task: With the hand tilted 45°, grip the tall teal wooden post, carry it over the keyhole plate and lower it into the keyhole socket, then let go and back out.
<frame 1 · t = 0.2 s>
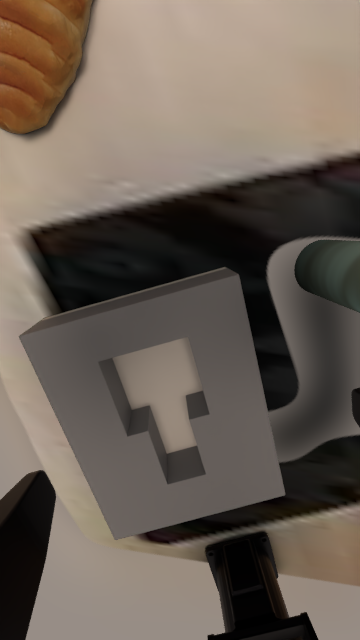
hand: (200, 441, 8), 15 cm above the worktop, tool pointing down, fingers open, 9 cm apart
pastry: (37, 42, 17), on the worktop
keyhole plate: (167, 394, 24), on the worktop
teal post: (320, 267, 22), on the worktop
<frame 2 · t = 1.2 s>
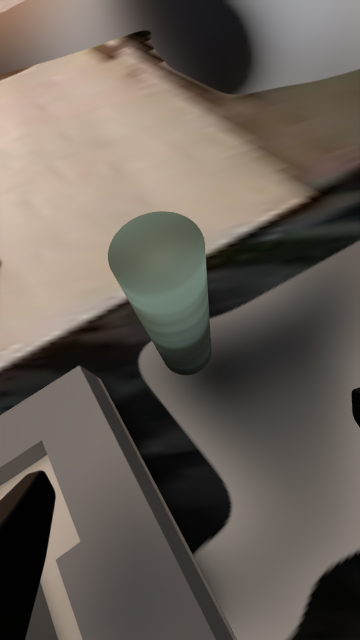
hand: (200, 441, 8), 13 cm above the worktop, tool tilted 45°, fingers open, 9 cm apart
keyhole plate: (65, 554, 19), on the worktop
teal post: (186, 350, 24), on the worktop
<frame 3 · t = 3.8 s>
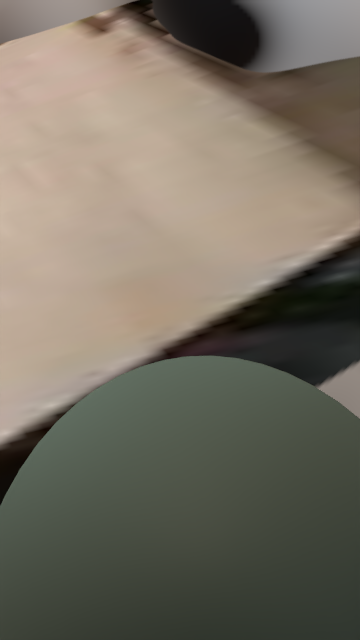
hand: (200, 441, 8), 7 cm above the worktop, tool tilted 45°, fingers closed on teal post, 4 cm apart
teal post: (215, 478, 14), on the worktop, touching gripper
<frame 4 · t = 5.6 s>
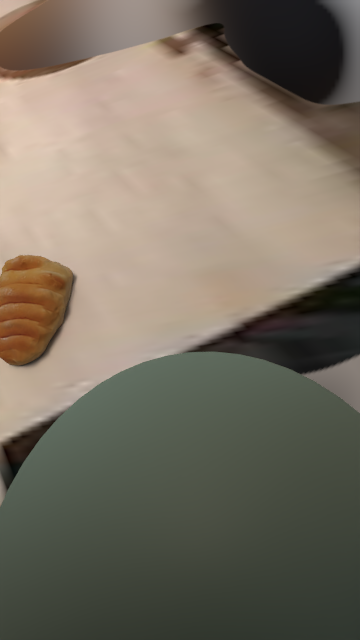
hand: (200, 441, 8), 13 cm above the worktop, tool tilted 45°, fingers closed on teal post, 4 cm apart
pastry: (41, 311, 27), on the worktop
teal post: (215, 477, 14), point 6 cm above the worktop, touching gripper
when the fingers open (9 cm above the worktop, at t = 7.7 s): teal post stays where it is, resting on keyhole plate.
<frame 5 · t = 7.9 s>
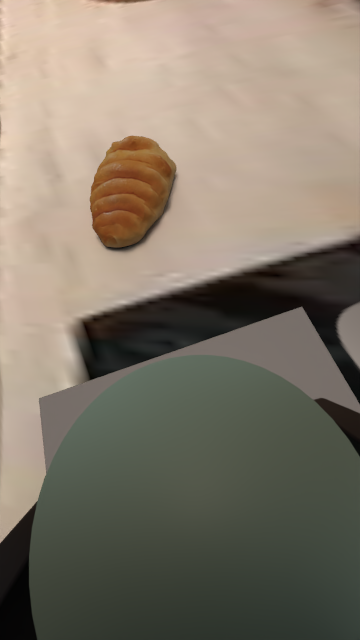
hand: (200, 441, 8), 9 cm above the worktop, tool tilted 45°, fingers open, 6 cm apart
pastry: (137, 205, 25), on the worktop
keyhole plate: (237, 541, 14), on the worktop
teal post: (215, 477, 15), point 1 cm above the worktop, touching keyhole plate
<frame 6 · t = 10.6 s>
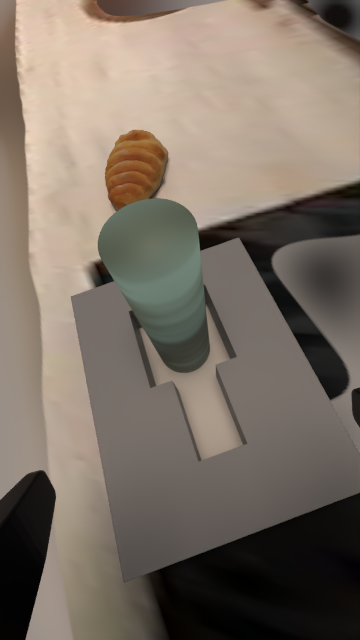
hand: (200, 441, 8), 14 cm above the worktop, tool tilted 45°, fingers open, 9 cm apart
pastry: (140, 182, 34), on the worktop
keyhole plate: (198, 385, 22), on the worktop
teal post: (184, 348, 23), point 1 cm above the worktop, touching keyhole plate
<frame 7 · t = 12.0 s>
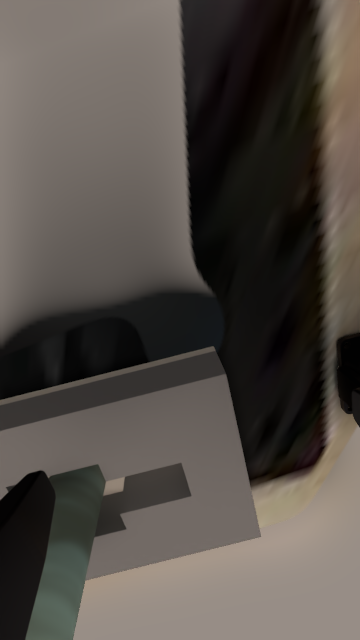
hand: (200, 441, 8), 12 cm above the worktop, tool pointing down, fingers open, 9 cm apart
keyhole plate: (120, 452, 23), on the worktop
teal post: (81, 470, 22), point 1 cm above the worktop, touching keyhole plate
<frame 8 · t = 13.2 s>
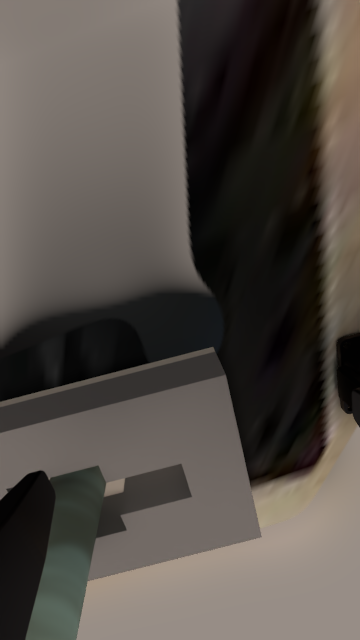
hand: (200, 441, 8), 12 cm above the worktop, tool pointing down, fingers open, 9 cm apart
keyhole plate: (120, 453, 23), on the worktop
teal post: (81, 471, 22), point 1 cm above the worktop, touching keyhole plate
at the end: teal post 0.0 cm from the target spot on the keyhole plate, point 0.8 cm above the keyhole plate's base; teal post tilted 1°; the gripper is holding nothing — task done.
